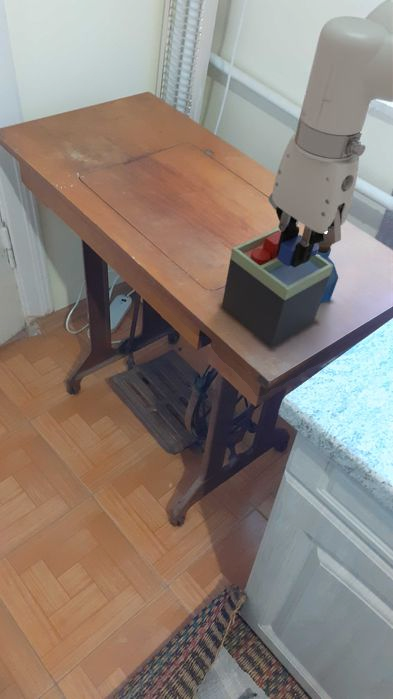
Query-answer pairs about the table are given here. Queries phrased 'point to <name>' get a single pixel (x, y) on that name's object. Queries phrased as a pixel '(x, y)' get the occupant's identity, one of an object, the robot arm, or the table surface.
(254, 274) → the organiser
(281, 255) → the blue block
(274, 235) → the red block with cylinder
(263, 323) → the riser
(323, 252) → the perfume bottle
